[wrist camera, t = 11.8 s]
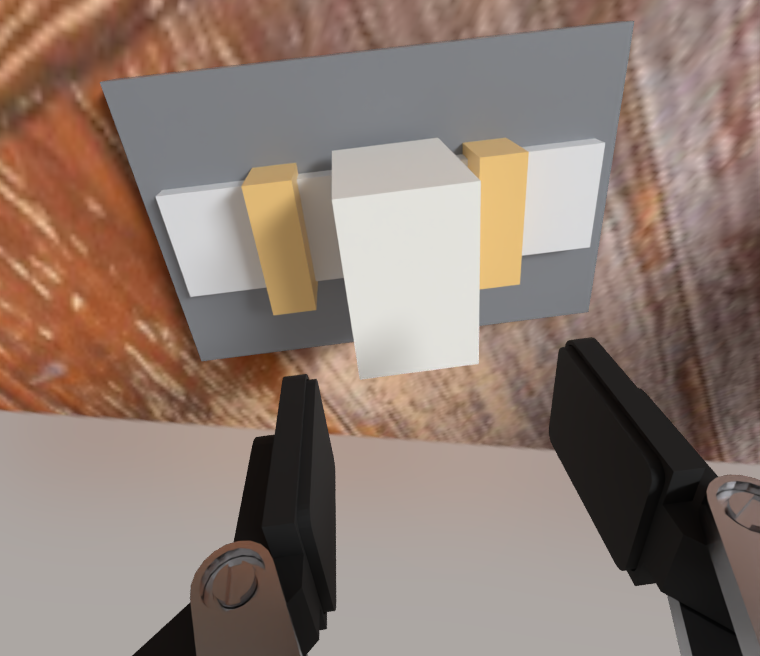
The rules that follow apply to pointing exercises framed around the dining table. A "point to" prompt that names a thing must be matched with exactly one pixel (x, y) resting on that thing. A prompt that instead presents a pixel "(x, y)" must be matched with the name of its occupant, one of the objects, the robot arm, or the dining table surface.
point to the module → (409, 255)
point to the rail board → (361, 129)
